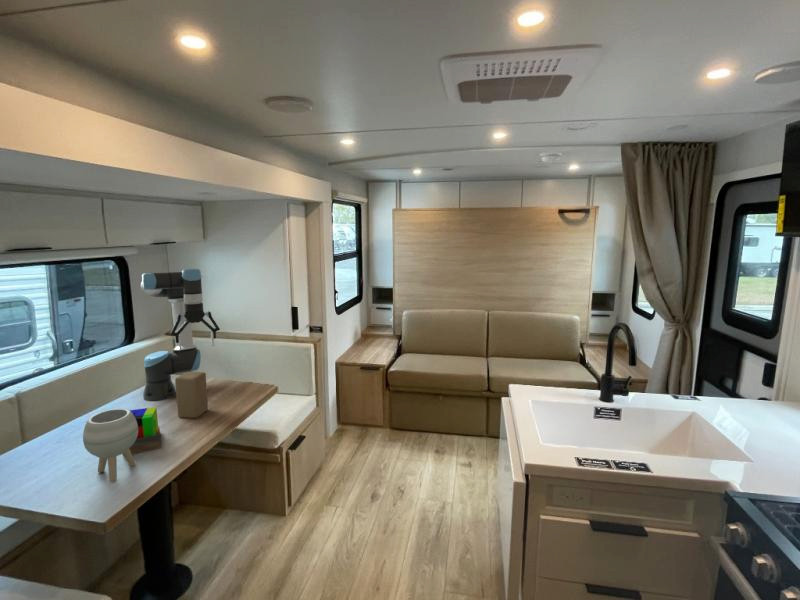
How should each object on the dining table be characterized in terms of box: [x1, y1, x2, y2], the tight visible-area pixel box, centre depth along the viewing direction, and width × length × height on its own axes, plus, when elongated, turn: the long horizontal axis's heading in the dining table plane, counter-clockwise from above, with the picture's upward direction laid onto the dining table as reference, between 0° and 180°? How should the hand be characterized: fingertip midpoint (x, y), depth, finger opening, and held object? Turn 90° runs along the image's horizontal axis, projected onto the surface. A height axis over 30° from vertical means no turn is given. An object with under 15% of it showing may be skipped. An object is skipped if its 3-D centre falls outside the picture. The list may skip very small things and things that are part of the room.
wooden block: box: [174, 371, 209, 419], centre depth 192 cm, size 10×10×20 cm
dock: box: [129, 425, 162, 455], centre depth 166 cm, size 15×13×6 cm
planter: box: [82, 408, 138, 483], centre depth 144 cm, size 16×16×22 cm
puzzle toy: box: [129, 406, 159, 439], centre depth 166 cm, size 10×10×10 cm
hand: (196, 347), depth 185 cm, fingers open, 13 cm apart
